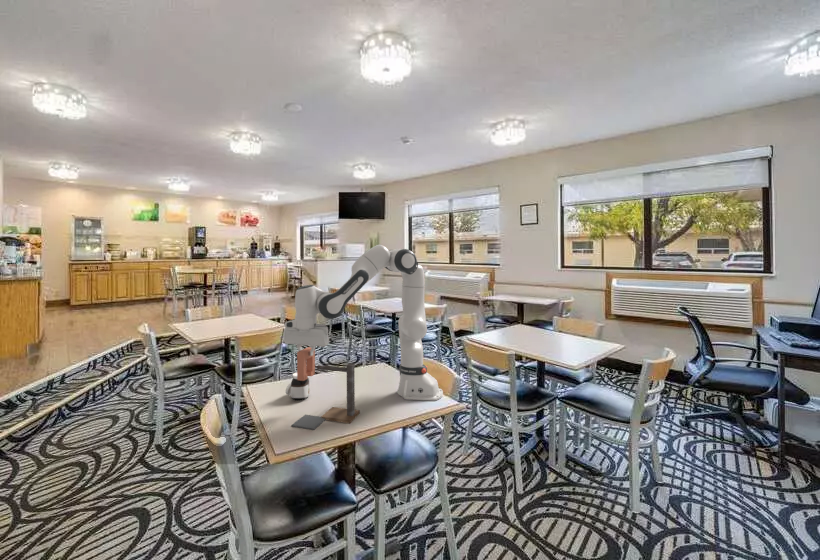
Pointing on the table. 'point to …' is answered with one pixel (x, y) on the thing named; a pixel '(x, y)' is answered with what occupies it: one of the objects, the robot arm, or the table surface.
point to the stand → (350, 412)
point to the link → (305, 364)
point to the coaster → (308, 422)
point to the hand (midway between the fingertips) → (306, 355)
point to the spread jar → (298, 389)
